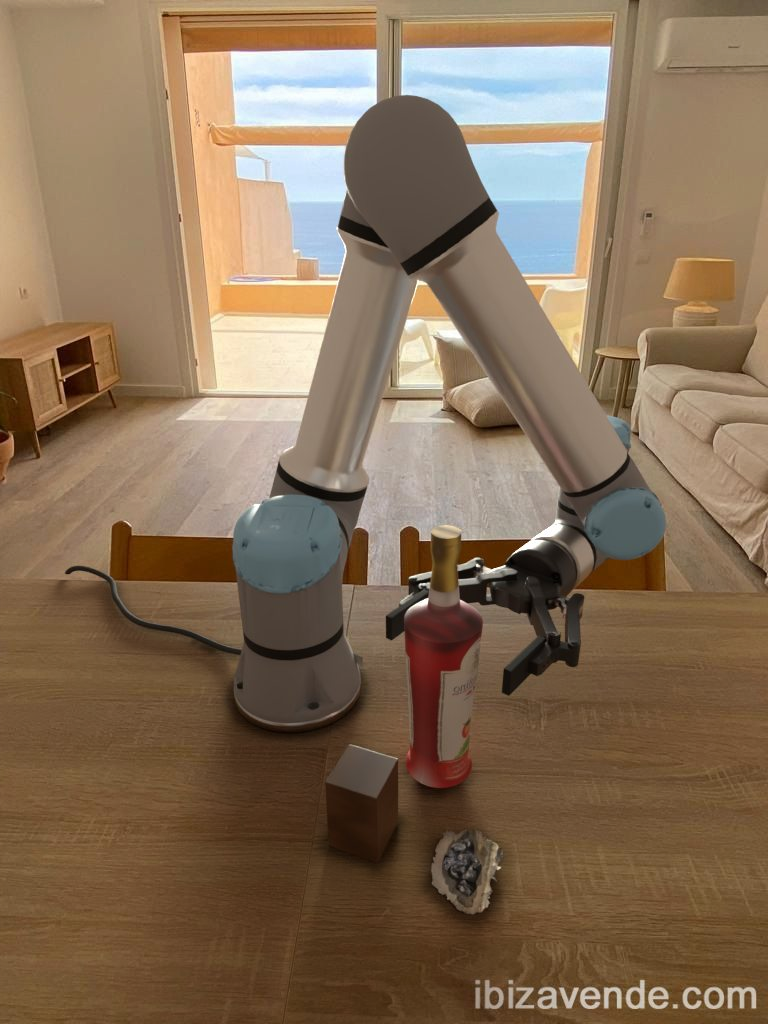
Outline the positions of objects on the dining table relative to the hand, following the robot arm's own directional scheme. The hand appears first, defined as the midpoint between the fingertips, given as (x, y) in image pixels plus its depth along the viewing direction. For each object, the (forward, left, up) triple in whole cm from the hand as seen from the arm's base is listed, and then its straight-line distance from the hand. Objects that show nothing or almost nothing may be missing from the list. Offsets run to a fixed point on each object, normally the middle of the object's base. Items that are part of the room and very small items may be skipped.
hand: (443, 653), depth 66 cm
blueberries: (+6, -10, -15) cm, 19 cm away
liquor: (0, 0, -15) cm, 15 cm away
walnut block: (-4, -10, -15) cm, 18 cm away
